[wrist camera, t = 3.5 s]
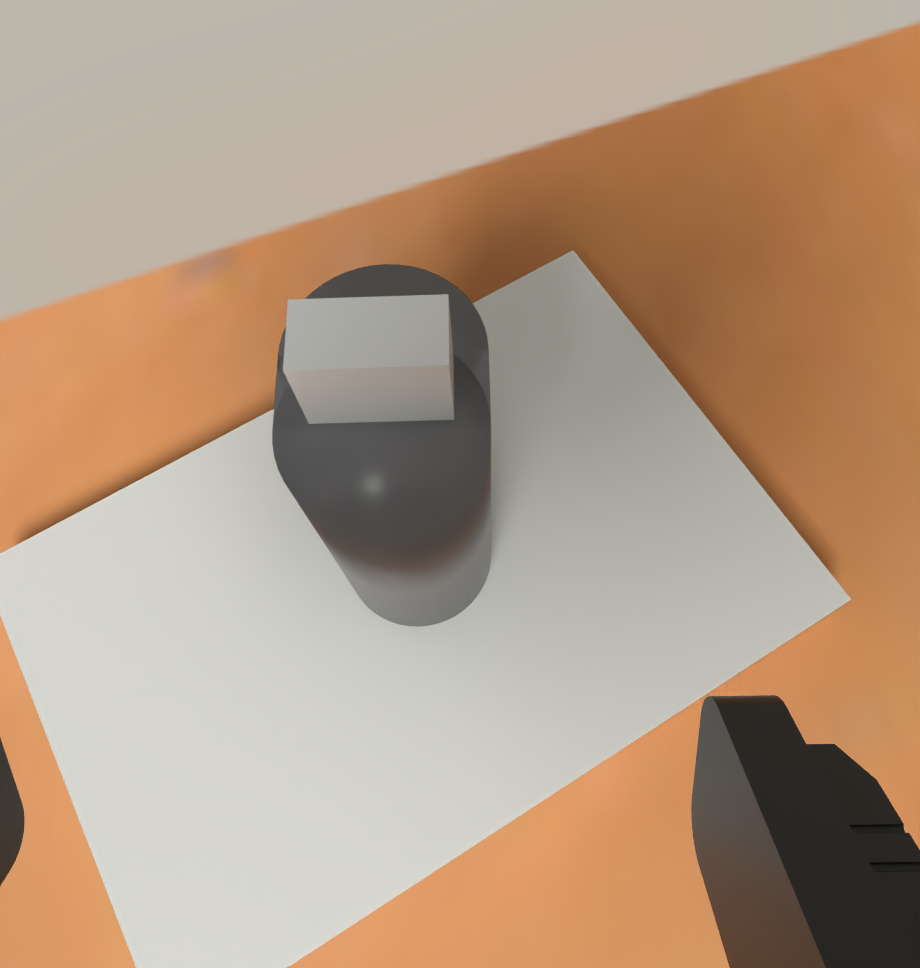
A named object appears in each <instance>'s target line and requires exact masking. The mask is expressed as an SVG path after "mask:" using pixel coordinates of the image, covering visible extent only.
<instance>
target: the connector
mask: <svg viewBox="0 0 920 968" xmlns="http://www.w3.org/2000/svg"><path fill="white" fill-rule="evenodd" d="M272 445H273V452H274V458H275V461H276V465H277V468H278V470H279V473H280V475H281V477H282V479H283V481H284V483H285V484H286V486H287V487H288V489H289V490H290V492H291V493H292V495H293V496H294V498H295V499H296V501H297V503H298V504H299V506H300V507H301V509H302V510H303V512H304V513H305V515H306V516H307V518H308V519H309V521H310V522H311V524H312V526H313V527H314V529H315V530H316V532H317V533H318V535H319V536H320V538H321V539H322V541H323V542H324V544H325V545H326V547H327V548H328V550H329V552H330V553H331V555H332V556H333V558H334V559H335V561H336V562H337V564H338V565H339V567H340V568H341V570H342V571H343V573H344V574H345V576H346V578H347V579H348V581H349V582H350V584H351V585H352V587H353V588H354V590H355V591H356V593H357V594H358V596H359V597H360V599H361V600H362V601H363V602H364V604H365V605H366V606H367V607H368V608H369V609H371V610H372V611H373V612H374V613H376V614H377V615H379V616H380V617H382V618H384V619H386V620H388V621H390V622H393V623H396V624H400V625H405V626H417V627H419V626H429V625H434V624H438V623H441V622H444V621H447V620H449V619H451V618H453V617H454V616H456V615H458V614H459V613H461V612H462V611H463V610H465V609H466V608H467V607H468V606H469V605H470V604H471V603H472V602H473V601H474V600H475V598H476V597H477V596H478V594H479V593H480V591H481V590H482V588H483V586H484V584H485V582H486V579H487V576H488V573H489V568H490V562H491V406H490V373H489V347H488V338H487V334H486V330H485V326H484V324H483V321H482V319H481V317H480V315H479V313H478V311H477V310H476V308H475V306H474V305H473V304H472V302H471V301H470V300H469V299H468V297H467V296H466V295H465V294H464V293H463V292H462V291H460V290H459V289H458V288H457V287H456V286H454V285H453V284H452V283H450V282H449V281H447V280H446V279H444V278H442V277H440V276H438V275H436V274H434V273H431V272H429V271H426V270H423V269H419V268H415V267H411V266H404V265H387V264H384V265H373V266H367V267H362V268H358V269H355V270H352V271H348V272H346V273H343V274H341V275H339V276H336V277H334V278H332V279H331V280H329V281H327V282H326V283H324V284H322V285H321V286H320V287H318V288H317V289H316V290H314V291H313V292H312V293H311V294H310V295H309V296H308V297H307V298H305V299H288V307H287V320H286V327H285V330H284V332H283V335H282V338H281V342H280V346H279V353H278V362H277V376H276V389H275V402H274V415H273V428H272Z"/></svg>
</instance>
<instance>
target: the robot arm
mask: <svg viewBox="0 0 920 968" xmlns="http://www.w3.org/2000/svg"><path fill="white" fill-rule="evenodd" d="M691 812H692V829H693V838H694V845H695V850H696V855H697V859H698V863H699V867H700V870H701V873H702V877H703V880H704V883H705V886H706V890H707V893H708V896H709V900H710V903H711V906H712V910H713V913H714V916H715V920H716V923H717V926H718V930H719V933H720V936H721V940H722V943H723V946H724V950H725V953H726V956H727V960H728V963H729V966H730V968H920V850H919V848H918V847H917V845H916V844H915V842H914V840H913V839H912V837H911V835H910V834H909V833H905V831H904V827H903V825H904V824H903V822H902V821H901V819H900V817H899V816H898V814H897V812H896V811H895V809H894V808H893V806H892V804H891V803H890V801H889V799H888V798H887V796H886V794H885V793H884V791H883V790H882V788H881V786H880V785H879V783H878V781H877V780H876V779H875V778H874V777H872V776H871V775H870V774H869V773H868V772H867V771H865V770H864V769H863V768H862V767H861V766H860V765H858V764H857V763H856V762H855V761H854V760H853V759H851V758H850V757H849V756H848V755H847V754H846V753H844V752H843V751H842V750H841V749H840V748H839V747H837V746H836V745H835V744H806V743H805V741H804V739H803V737H802V735H801V733H800V732H799V730H798V728H797V726H796V724H795V722H794V720H793V718H792V717H791V715H790V713H789V711H788V709H787V707H786V705H785V704H784V702H783V701H782V700H781V699H780V698H779V697H778V696H774V695H770V696H708V697H706V699H705V700H704V703H703V706H702V711H701V720H700V729H699V738H698V747H697V757H696V766H695V775H694V784H693V794H692V809H691ZM23 833H24V809H23V805H22V802H21V799H20V796H19V793H18V790H17V787H16V784H15V781H14V778H13V775H12V772H11V769H10V766H9V763H8V760H7V757H6V754H5V751H4V748H3V745H2V742H1V739H0V885H1V884H2V882H3V881H4V879H5V877H6V876H7V874H8V873H9V871H10V869H11V868H12V866H13V864H14V862H15V860H16V858H17V855H18V853H19V850H20V847H21V843H22V838H23Z"/></svg>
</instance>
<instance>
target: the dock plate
mask: <svg viewBox="0 0 920 968" xmlns="http://www.w3.org/2000/svg"><path fill="white" fill-rule="evenodd" d="M472 304H473V305H474V306H475V308H476V310H477V311H478V313H479V315H480V317H481V319H482V321H483V324H484V326H485V330H486V334H487V338H488V347H489V373H490V406H491V562H490V568H489V573H488V576H487V579H486V582H485V584H484V586H483V588H482V590H481V591H480V593H479V594H478V596H477V597H476V598H475V600H474V601H473V602H472V603H471V604H470V605H469V606H468V607H467V608H466V609H465V610H463V611H462V612H461V613H459V614H458V615H456V616H454V617H453V618H451V619H449V620H447V621H444V622H441V623H438V624H434V625H429V626H419V627H417V626H405V625H400V624H396V623H393V622H390V621H388V620H386V619H384V618H382V617H380V616H379V615H377V614H376V613H374V612H373V611H372V610H371V609H369V608H368V607H367V606H366V605H365V604H364V602H363V601H362V600H361V599H360V597H359V596H358V594H357V593H356V591H355V590H354V588H353V587H352V585H351V584H350V582H349V581H348V579H347V578H346V576H345V574H344V573H343V571H342V570H341V568H340V567H339V565H338V564H337V562H336V561H335V559H334V558H333V556H332V555H331V553H330V552H329V550H328V548H327V547H326V545H325V544H324V542H323V541H322V539H321V538H320V536H319V535H318V533H317V532H316V530H315V529H314V527H313V526H312V524H311V522H310V521H309V519H308V518H307V516H306V515H305V513H304V512H303V510H302V509H301V507H300V506H299V504H298V503H297V501H296V499H295V498H294V496H293V495H292V493H291V492H290V490H289V489H288V487H287V486H286V484H285V483H284V481H283V479H282V477H281V475H280V473H279V470H278V468H277V465H276V461H275V458H274V452H273V445H272V428H273V415H274V409H272V410H270V411H268V412H266V413H264V414H263V415H261V416H259V417H257V418H255V419H253V420H251V421H249V422H247V423H246V424H244V425H242V426H240V427H238V428H236V429H234V430H232V431H231V432H229V433H227V434H225V435H223V436H221V437H219V438H217V439H215V440H214V441H212V442H210V443H208V444H206V445H204V446H202V447H200V448H198V449H197V450H195V451H193V452H191V453H189V454H187V455H185V456H183V457H181V458H180V459H178V460H176V461H174V462H172V463H170V464H168V465H166V466H164V467H163V468H161V469H159V470H157V471H155V472H153V473H151V474H149V475H148V476H146V477H144V478H142V479H140V480H138V481H136V482H134V483H132V484H131V485H129V486H127V487H125V488H123V489H121V490H119V491H117V492H115V493H114V494H112V495H110V496H108V497H106V498H104V499H102V500H100V501H98V502H97V503H95V504H93V505H91V506H89V507H87V508H85V509H83V510H81V511H80V512H78V513H76V514H74V515H72V516H70V517H68V518H66V519H64V520H63V521H61V522H59V523H57V524H55V525H53V526H51V527H49V528H48V529H46V530H44V531H42V532H40V533H38V534H36V535H34V536H32V537H31V538H29V539H27V540H25V541H23V542H21V543H19V544H17V545H15V546H14V547H12V548H10V549H8V550H6V551H4V552H2V553H0V616H1V618H2V621H3V624H4V626H5V629H6V631H7V634H8V637H9V639H10V642H11V644H12V647H13V650H14V652H15V655H16V657H17V660H18V663H19V665H20V668H21V670H22V673H23V676H24V678H25V681H26V683H27V686H28V688H29V691H30V694H31V696H32V699H33V701H34V704H35V707H36V709H37V712H38V714H39V717H40V720H41V722H42V725H43V727H44V730H45V733H46V735H47V738H48V740H49V743H50V745H51V748H52V751H53V753H54V756H55V758H56V761H57V764H58V766H59V769H60V771H61V774H62V777H63V779H64V782H65V784H66V787H67V790H68V792H69V795H70V797H71V800H72V802H73V805H74V808H75V810H76V813H77V815H78V818H79V821H80V823H81V826H82V828H83V831H84V834H85V836H86V839H87V841H88V844H89V847H90V849H91V852H92V854H93V857H94V859H95V862H96V865H97V867H98V870H99V872H100V875H101V878H102V880H103V883H104V885H105V888H106V891H107V893H108V896H109V898H110V901H111V904H112V906H113V909H114V911H115V914H116V917H117V919H118V922H119V924H120V927H121V929H122V932H123V935H124V937H125V940H126V942H127V945H128V948H129V950H130V953H131V955H132V958H133V961H134V963H135V966H136V968H287V967H289V966H290V965H292V964H293V963H295V962H296V961H298V960H299V959H301V958H302V957H304V956H305V955H307V954H309V953H310V952H312V951H313V950H315V949H316V948H318V947H319V946H321V945H322V944H324V943H325V942H327V941H328V940H330V939H332V938H333V937H335V936H336V935H338V934H339V933H341V932H342V931H344V930H345V929H347V928H348V927H350V926H351V925H353V924H355V923H356V922H358V921H359V920H361V919H362V918H364V917H365V916H367V915H368V914H370V913H371V912H373V911H374V910H376V909H378V908H379V907H381V906H382V905H384V904H385V903H387V902H388V901H390V900H391V899H393V898H394V897H396V896H397V895H399V894H401V893H402V892H404V891H405V890H407V889H408V888H410V887H411V886H413V885H414V884H416V883H417V882H419V881H420V880H422V879H424V878H425V877H427V876H428V875H430V874H431V873H433V872H434V871H436V870H437V869H439V868H440V867H442V866H443V865H445V864H447V863H448V862H450V861H451V860H453V859H454V858H456V857H457V856H459V855H460V854H462V853H463V852H465V851H466V850H468V849H469V848H471V847H473V846H474V845H476V844H477V843H479V842H480V841H482V840H483V839H485V838H486V837H488V836H489V835H491V834H492V833H494V832H496V831H497V830H499V829H500V828H502V827H503V826H505V825H506V824H508V823H509V822H511V821H512V820H514V819H515V818H517V817H519V816H520V815H522V814H523V813H525V812H526V811H528V810H529V809H531V808H532V807H534V806H535V805H537V804H538V803H540V802H542V801H543V800H545V799H546V798H548V797H549V796H551V795H552V794H554V793H555V792H557V791H558V790H560V789H561V788H563V787H565V786H566V785H568V784H569V783H571V782H572V781H574V780H575V779H577V778H578V777H580V776H581V775H583V774H584V773H586V772H588V771H589V770H591V769H592V768H594V767H595V766H597V765H598V764H600V763H601V762H603V761H604V760H606V759H607V758H609V757H611V756H612V755H614V754H615V753H617V752H618V751H620V750H621V749H623V748H624V747H626V746H627V745H629V744H630V743H632V742H633V741H635V740H637V739H638V738H640V737H641V736H643V735H644V734H646V733H647V732H649V731H650V730H652V729H653V728H655V727H656V726H658V725H660V724H661V723H663V722H664V721H666V720H667V719H669V718H670V717H672V716H673V715H675V714H676V713H678V712H679V711H681V710H683V709H684V708H686V707H687V706H689V705H690V704H692V703H693V702H695V701H696V700H698V699H699V698H701V697H702V696H704V695H706V694H707V693H709V692H710V691H712V690H713V689H715V688H716V687H718V686H719V685H721V684H722V683H724V682H725V681H727V680H729V679H730V678H732V677H733V676H735V675H736V674H738V673H739V672H741V671H742V670H744V669H745V668H747V667H748V666H750V665H752V664H753V663H755V662H756V661H758V660H759V659H761V658H762V657H764V656H765V655H767V654H768V653H770V652H771V651H773V650H775V649H776V648H778V647H779V646H781V645H782V644H784V643H785V642H787V641H788V640H790V639H791V638H793V637H794V636H796V635H798V634H799V633H801V632H802V631H804V630H805V629H807V628H808V627H810V626H811V625H813V624H814V623H816V622H817V621H819V620H820V619H822V618H824V617H825V616H827V615H828V614H830V613H831V612H833V611H834V610H836V609H837V608H839V607H840V606H842V605H843V604H845V603H847V602H848V601H850V600H851V598H850V597H849V596H848V595H847V593H846V592H845V591H844V590H843V588H842V587H841V586H840V585H839V583H838V582H837V581H836V579H835V578H834V577H833V576H832V574H831V573H830V572H829V571H828V569H827V568H826V567H825V566H824V564H823V563H822V562H821V561H820V559H819V558H818V557H817V556H816V554H815V553H814V552H813V551H812V549H811V548H810V547H809V546H808V544H807V543H806V542H805V541H804V539H803V538H802V537H801V536H800V534H799V533H798V532H797V530H796V529H795V528H794V527H793V525H792V524H791V523H790V522H789V520H788V519H787V518H786V517H785V515H784V514H783V513H782V512H781V510H780V509H779V508H778V507H777V505H776V504H775V503H774V502H773V500H772V499H771V498H770V497H769V495H768V494H767V493H766V492H765V490H764V489H763V488H762V486H761V485H760V484H759V483H758V481H757V480H756V479H755V478H754V476H753V475H752V474H751V473H750V471H749V470H748V469H747V468H746V466H745V465H744V464H743V463H742V461H741V460H740V459H739V458H738V456H737V455H736V454H735V453H734V451H733V450H732V449H731V448H730V446H729V445H728V444H727V442H726V441H725V440H724V439H723V437H722V436H721V435H720V434H719V432H718V431H717V430H716V429H715V427H714V426H713V425H712V424H711V422H710V421H709V420H708V419H707V417H706V416H705V415H704V414H703V412H702V411H701V410H700V409H699V407H698V406H697V405H696V404H695V402H694V401H693V400H692V399H691V397H690V396H689V395H688V393H687V392H686V391H685V390H684V388H683V387H682V386H681V385H680V383H679V382H678V381H677V380H676V378H675V377H674V376H673V375H672V373H671V372H670V371H669V370H668V368H667V367H666V366H665V365H664V363H663V362H662V361H661V360H660V358H659V357H658V356H657V355H656V353H655V352H654V351H653V349H652V348H651V347H650V346H649V344H648V343H647V342H646V341H645V339H644V338H643V337H642V336H641V334H640V333H639V332H638V331H637V329H636V328H635V327H634V326H633V324H632V323H631V322H630V321H629V319H628V318H627V317H626V316H625V314H624V313H623V312H622V311H621V309H620V308H619V307H618V305H617V304H616V303H615V302H614V300H613V299H612V298H611V297H610V295H609V294H608V293H607V292H606V290H605V289H604V288H603V287H602V285H601V284H600V283H599V282H598V280H597V279H596V278H595V277H594V275H593V274H592V273H591V272H590V270H589V269H588V268H587V267H586V265H585V264H584V263H583V261H582V260H581V259H580V258H579V256H578V255H577V254H576V253H575V251H574V250H572V251H570V252H568V253H566V254H564V255H563V256H561V257H559V258H557V259H555V260H553V261H551V262H549V263H547V264H546V265H544V266H542V267H540V268H538V269H536V270H534V271H532V272H531V273H529V274H527V275H525V276H523V277H521V278H519V279H517V280H515V281H514V282H512V283H510V284H508V285H506V286H504V287H502V288H500V289H498V290H497V291H495V292H493V293H491V294H489V295H487V296H485V297H483V298H481V299H480V300H478V301H476V302H474V303H472Z"/></svg>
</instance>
